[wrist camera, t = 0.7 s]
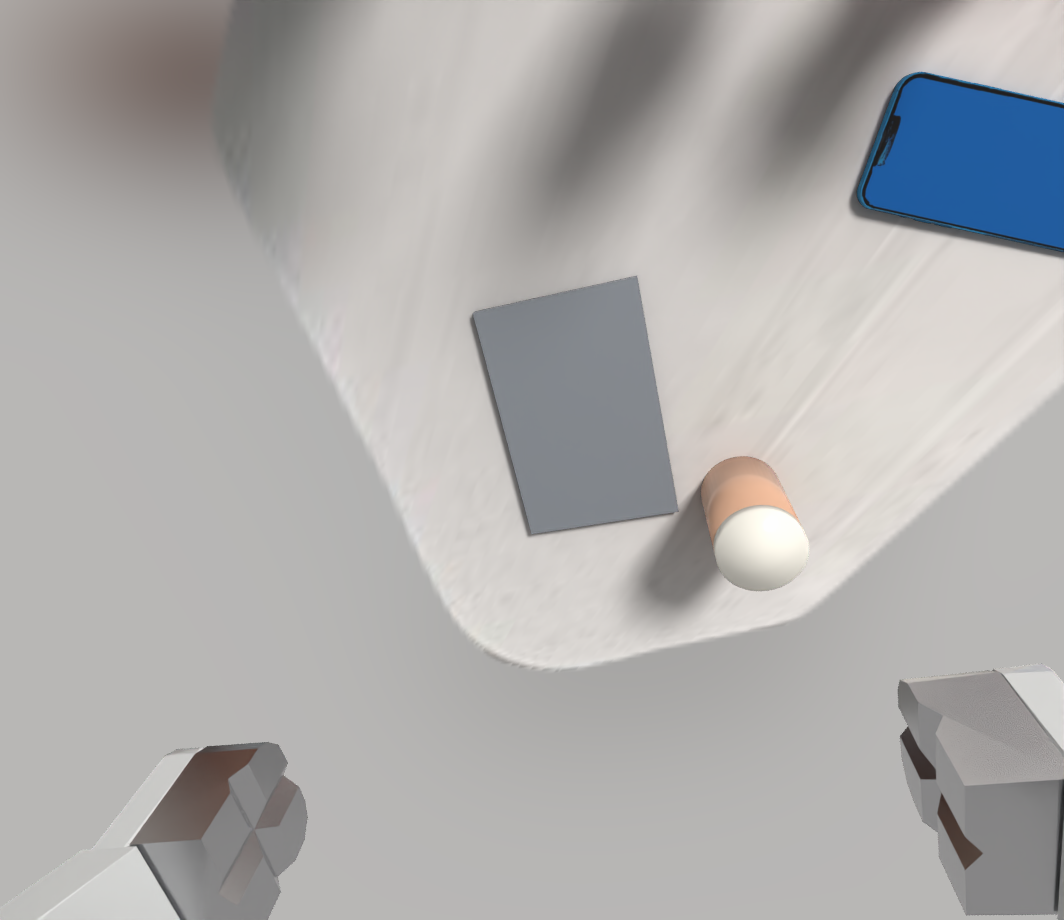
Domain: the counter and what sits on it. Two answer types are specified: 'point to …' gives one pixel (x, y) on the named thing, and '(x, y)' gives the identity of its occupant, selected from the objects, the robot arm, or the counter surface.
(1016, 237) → the smartphone
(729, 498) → the terracotta jar
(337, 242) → the counter surface
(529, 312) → the slate mat
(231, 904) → the robot arm
